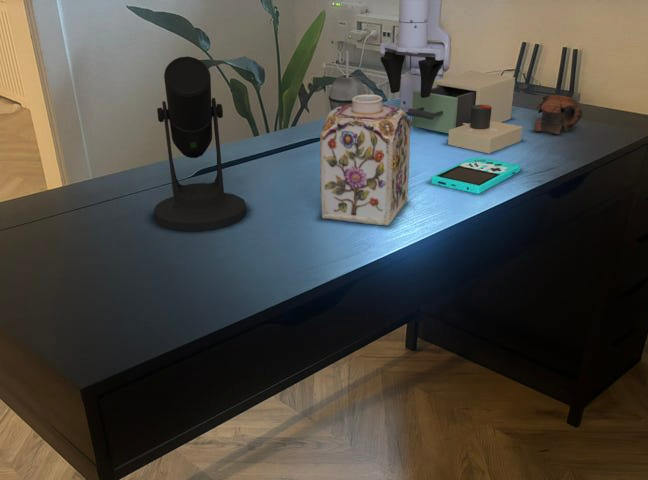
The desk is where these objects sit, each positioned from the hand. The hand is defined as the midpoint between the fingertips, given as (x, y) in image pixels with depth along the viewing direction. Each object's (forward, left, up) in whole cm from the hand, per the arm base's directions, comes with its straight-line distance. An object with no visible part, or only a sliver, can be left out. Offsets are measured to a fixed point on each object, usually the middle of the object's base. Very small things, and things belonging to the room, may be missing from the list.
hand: (410, 94), depth 150 cm
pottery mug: (+19, +29, -10) cm, 36 cm away
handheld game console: (+24, -10, -10) cm, 27 cm away
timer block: (+12, +10, -10) cm, 19 cm away
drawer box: (0, +24, -10) cm, 26 cm away
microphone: (+1, -55, -10) cm, 56 cm away
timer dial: (+11, +10, -7) cm, 16 cm away
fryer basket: (0, +13, -9) cm, 15 cm away
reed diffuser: (-2, -16, -10) cm, 19 cm away
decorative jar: (+20, -36, -10) cm, 43 cm away
